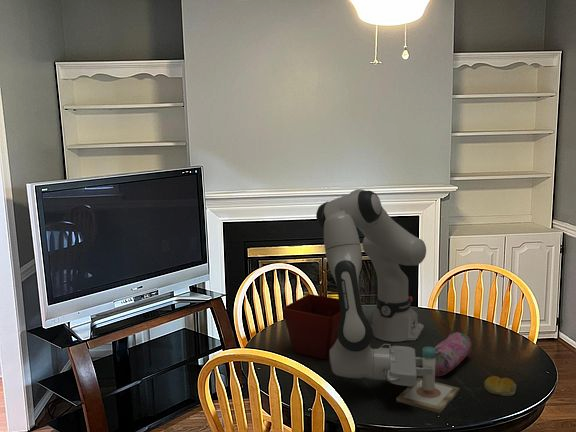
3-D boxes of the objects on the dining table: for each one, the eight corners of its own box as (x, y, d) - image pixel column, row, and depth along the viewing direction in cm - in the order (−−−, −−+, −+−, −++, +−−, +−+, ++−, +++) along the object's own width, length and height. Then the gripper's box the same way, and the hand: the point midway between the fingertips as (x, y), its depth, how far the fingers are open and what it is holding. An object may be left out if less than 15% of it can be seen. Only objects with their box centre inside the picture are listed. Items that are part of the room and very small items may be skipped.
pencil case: (447, 381, 188) (447, 353, 186) (420, 374, 194) (420, 347, 192) (473, 359, 204) (474, 333, 203) (448, 352, 210) (448, 327, 208)
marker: (424, 384, 180) (425, 345, 178) (436, 387, 178) (438, 348, 176) (419, 388, 177) (420, 349, 175) (432, 392, 175) (433, 352, 173)
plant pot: (356, 346, 217) (356, 301, 214) (332, 365, 200) (331, 317, 198) (309, 337, 226) (308, 293, 223) (282, 355, 210) (281, 308, 207)
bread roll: (487, 382, 187) (488, 369, 186) (517, 388, 183) (518, 376, 182) (480, 392, 180) (481, 380, 180) (512, 399, 176) (512, 386, 175)
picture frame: (418, 380, 188) (418, 376, 188) (459, 391, 181) (459, 387, 181) (396, 401, 175) (396, 397, 175) (439, 413, 168) (439, 409, 168)
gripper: (383, 369, 168) (434, 372, 166) (384, 341, 188) (430, 343, 186) (382, 390, 169) (433, 393, 167) (384, 360, 189) (430, 363, 187)
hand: (432, 367), depth 176 cm, fingers closed on marker, 4 cm apart
